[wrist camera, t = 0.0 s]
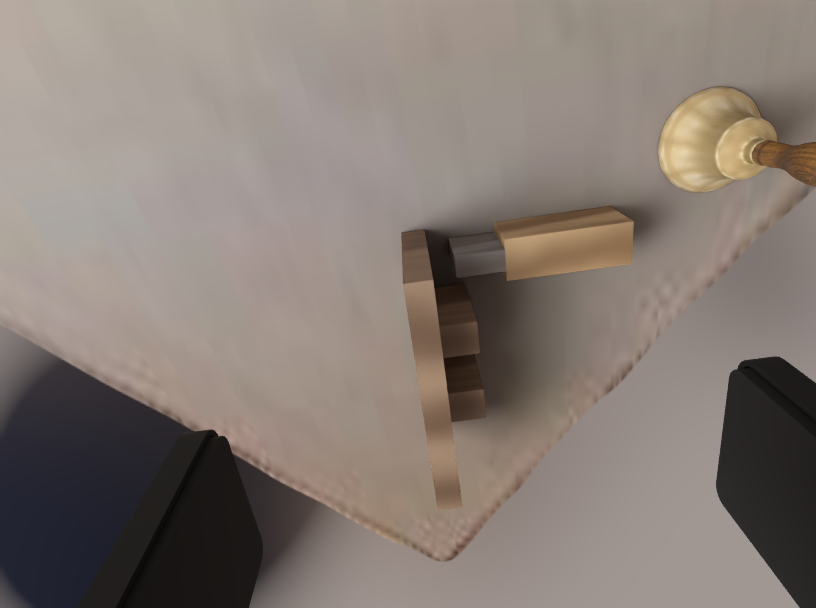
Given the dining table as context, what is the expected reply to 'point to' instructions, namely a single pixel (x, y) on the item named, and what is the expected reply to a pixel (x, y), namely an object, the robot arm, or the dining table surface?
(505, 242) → the tan and gray block
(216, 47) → the dining table surface
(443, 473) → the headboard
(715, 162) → the hand bell
